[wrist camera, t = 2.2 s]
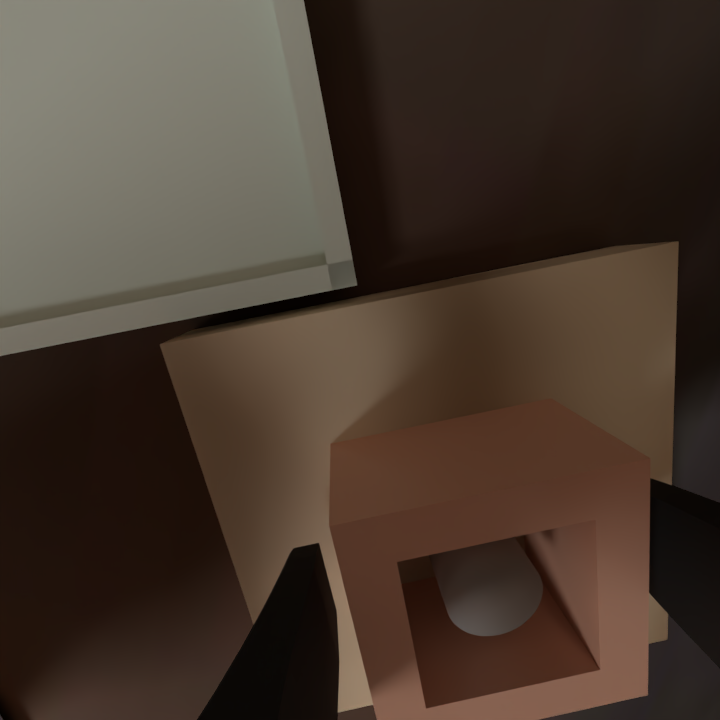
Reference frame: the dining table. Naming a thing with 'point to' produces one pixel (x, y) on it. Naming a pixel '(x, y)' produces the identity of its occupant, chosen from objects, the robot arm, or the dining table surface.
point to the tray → (160, 165)
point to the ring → (487, 524)
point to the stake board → (423, 409)
